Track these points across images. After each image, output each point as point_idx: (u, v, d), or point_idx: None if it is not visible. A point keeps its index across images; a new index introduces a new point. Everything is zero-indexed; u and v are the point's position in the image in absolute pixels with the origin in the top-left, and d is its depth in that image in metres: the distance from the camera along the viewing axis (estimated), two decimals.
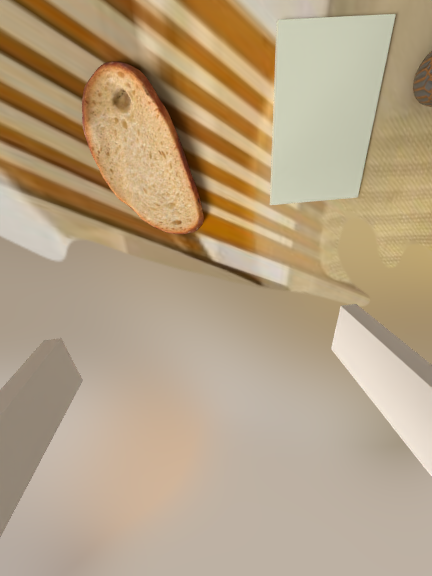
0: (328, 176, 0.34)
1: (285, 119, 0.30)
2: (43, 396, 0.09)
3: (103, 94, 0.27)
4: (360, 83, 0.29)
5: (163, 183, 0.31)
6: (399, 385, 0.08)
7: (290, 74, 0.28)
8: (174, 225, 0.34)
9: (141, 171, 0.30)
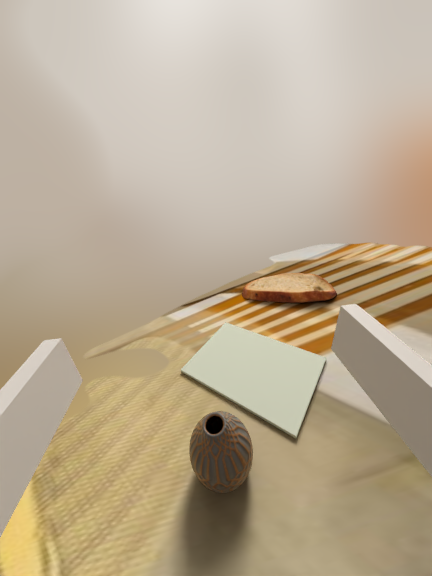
0: (214, 355, 0.40)
1: (269, 344, 0.41)
2: (43, 396, 0.09)
3: (323, 285, 0.53)
4: (261, 394, 0.33)
5: (274, 287, 0.55)
6: (399, 385, 0.08)
7: (293, 354, 0.38)
8: (252, 283, 0.58)
9: (285, 283, 0.56)
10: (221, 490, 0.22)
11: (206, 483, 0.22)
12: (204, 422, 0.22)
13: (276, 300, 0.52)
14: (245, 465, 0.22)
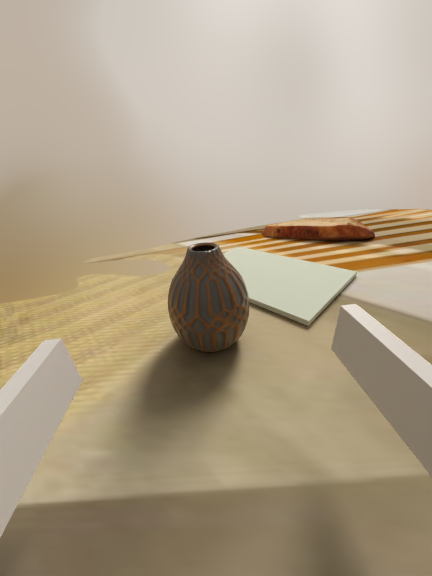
0: None
1: (287, 260, 0.35)
2: (43, 396, 0.09)
3: None
4: (270, 290, 0.27)
5: None
6: (399, 385, 0.08)
7: (315, 268, 0.31)
8: (275, 224, 0.52)
9: (313, 224, 0.49)
10: (200, 333, 0.17)
11: (181, 321, 0.17)
12: (191, 246, 0.17)
13: (300, 236, 0.46)
14: (236, 306, 0.17)
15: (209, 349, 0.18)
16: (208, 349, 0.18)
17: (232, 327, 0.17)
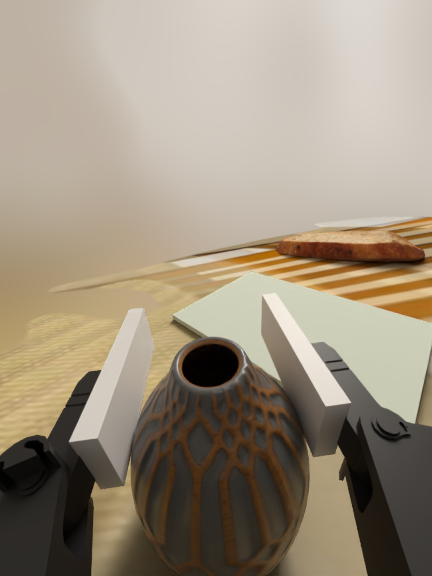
0: (229, 303, 0.25)
1: (321, 298, 0.25)
2: (140, 351, 0.10)
3: (402, 244, 0.36)
4: None
5: (325, 242, 0.39)
6: (286, 357, 0.09)
7: (367, 314, 0.22)
8: (292, 238, 0.42)
9: (341, 239, 0.39)
10: None
11: (157, 549, 0.07)
12: (181, 353, 0.07)
13: (327, 256, 0.36)
14: (294, 516, 0.07)
15: None
16: None
17: (281, 558, 0.07)
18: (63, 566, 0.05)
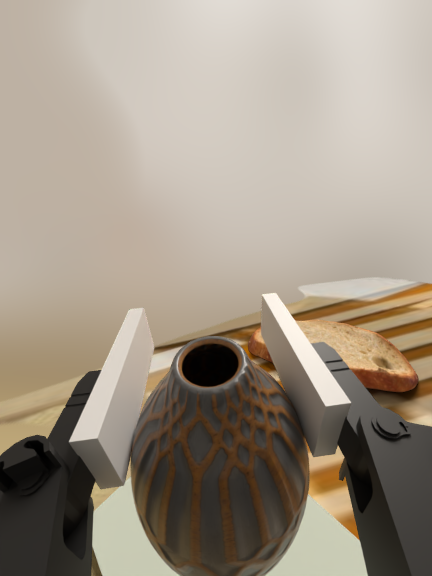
0: None
1: None
2: (140, 351, 0.10)
3: (392, 358, 0.30)
4: None
5: None
6: (286, 357, 0.09)
7: (335, 553, 0.16)
8: None
9: (322, 339, 0.34)
10: None
11: (157, 549, 0.07)
12: (181, 353, 0.07)
13: None
14: (293, 515, 0.07)
15: None
16: None
17: (281, 557, 0.07)
18: (63, 566, 0.05)
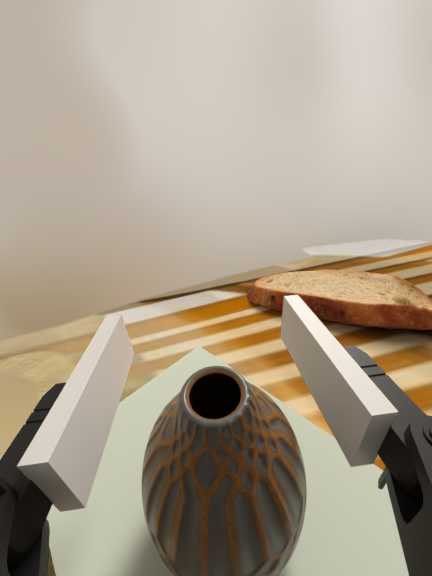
0: (136, 436, 0.15)
1: None
2: (114, 361, 0.10)
3: (415, 299, 0.26)
4: None
5: (310, 289, 0.29)
6: (316, 362, 0.09)
7: (368, 498, 0.11)
8: (269, 279, 0.32)
9: (332, 285, 0.29)
10: None
11: (168, 565, 0.07)
12: (187, 384, 0.08)
13: None
14: (292, 534, 0.07)
15: None
16: None
17: (281, 570, 0.08)
18: None
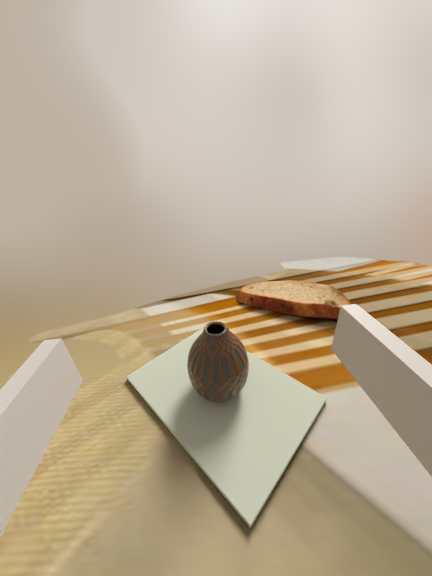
0: (175, 366, 0.30)
1: (251, 363, 0.30)
2: (43, 396, 0.09)
3: (339, 301, 0.41)
4: (218, 435, 0.22)
5: (276, 293, 0.44)
6: (399, 385, 0.08)
7: (279, 384, 0.27)
8: (251, 286, 0.48)
9: (291, 291, 0.45)
10: (212, 393, 0.23)
11: (199, 383, 0.23)
12: (206, 326, 0.23)
13: (274, 309, 0.41)
14: (239, 373, 0.23)
15: (218, 401, 0.24)
16: (218, 401, 0.24)
17: (236, 387, 0.23)
18: None
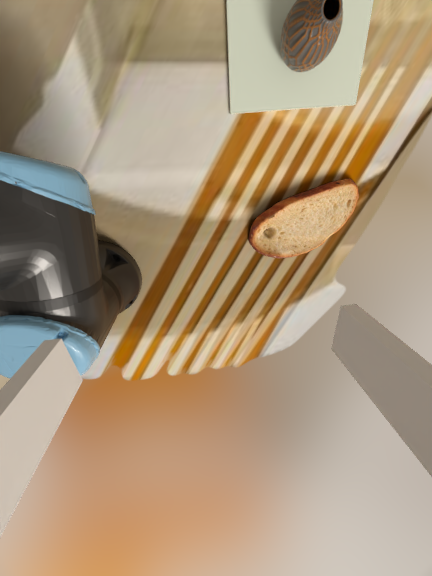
0: (345, 28, 0.31)
1: (290, 96, 0.34)
2: (43, 396, 0.09)
3: (265, 242, 0.44)
4: (272, 4, 0.30)
5: (319, 211, 0.42)
6: (399, 385, 0.08)
7: (261, 95, 0.34)
8: (350, 206, 0.42)
9: (309, 226, 0.43)
10: None
11: None
12: (341, 1, 0.24)
13: (309, 190, 0.41)
14: (288, 27, 0.27)
15: None
16: None
17: (283, 28, 0.28)
18: None
